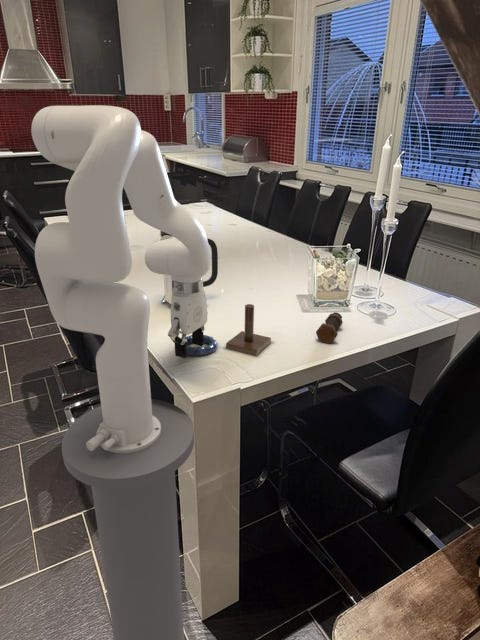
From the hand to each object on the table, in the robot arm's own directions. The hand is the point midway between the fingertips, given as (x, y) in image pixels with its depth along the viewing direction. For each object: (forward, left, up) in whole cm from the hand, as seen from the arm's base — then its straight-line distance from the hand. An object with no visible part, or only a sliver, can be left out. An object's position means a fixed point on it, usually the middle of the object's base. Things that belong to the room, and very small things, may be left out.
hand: (189, 350), depth 120 cm
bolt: (+31, -28, -1) cm, 42 cm away
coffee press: (+30, +21, -1) cm, 37 cm away
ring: (+4, 0, 0) cm, 4 cm away
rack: (+12, -11, -1) cm, 16 cm away
